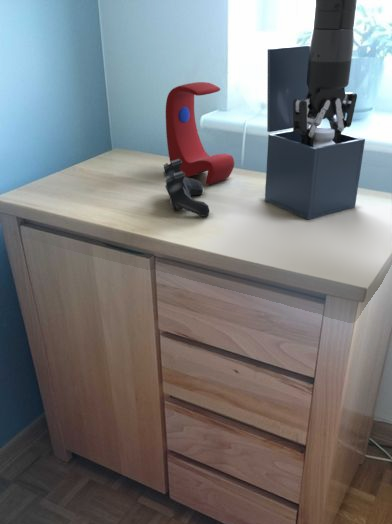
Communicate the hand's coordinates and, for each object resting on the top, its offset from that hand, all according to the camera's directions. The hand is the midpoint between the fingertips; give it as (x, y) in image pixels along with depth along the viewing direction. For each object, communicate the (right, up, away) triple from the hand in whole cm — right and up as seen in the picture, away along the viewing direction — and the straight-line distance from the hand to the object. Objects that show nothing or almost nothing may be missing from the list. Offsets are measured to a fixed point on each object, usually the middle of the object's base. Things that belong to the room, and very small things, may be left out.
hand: (319, 153), depth 108 cm
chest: (-1, -8, +7) cm, 11 cm away
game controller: (-26, -8, +7) cm, 28 cm away
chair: (-23, +2, +23) cm, 33 cm away
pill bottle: (0, -6, +4) cm, 7 cm away
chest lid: (-5, +13, 0) cm, 14 cm away
